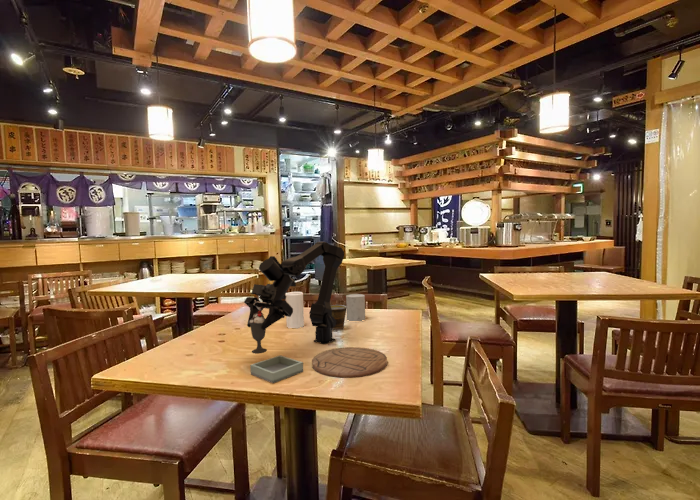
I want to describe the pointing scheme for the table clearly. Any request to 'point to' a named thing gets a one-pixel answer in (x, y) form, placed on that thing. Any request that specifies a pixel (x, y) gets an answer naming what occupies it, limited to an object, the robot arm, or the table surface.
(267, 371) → the grey square tray
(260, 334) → the sundae
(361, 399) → the table surface
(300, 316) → the cup
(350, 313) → the grey stone cylinder
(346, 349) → the trivet
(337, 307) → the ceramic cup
